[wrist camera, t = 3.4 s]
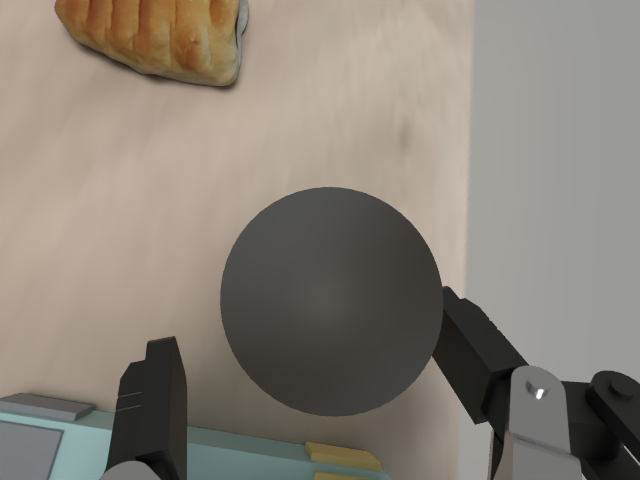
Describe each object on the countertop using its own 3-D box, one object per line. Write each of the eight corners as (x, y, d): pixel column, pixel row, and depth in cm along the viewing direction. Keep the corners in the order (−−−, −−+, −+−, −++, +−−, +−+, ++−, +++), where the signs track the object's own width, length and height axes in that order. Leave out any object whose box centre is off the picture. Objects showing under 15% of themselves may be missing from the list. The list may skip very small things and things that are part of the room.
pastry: (59, 75, 22) (22, 22, 18) (80, -31, 24) (50, -99, 20) (242, 97, 24) (242, 53, 20) (250, -4, 25) (251, -62, 22)
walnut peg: (213, 326, 20) (168, 310, 8) (275, 255, 22) (320, 145, 9) (286, 388, 20) (356, 469, 8) (344, 313, 22) (482, 281, 9)
